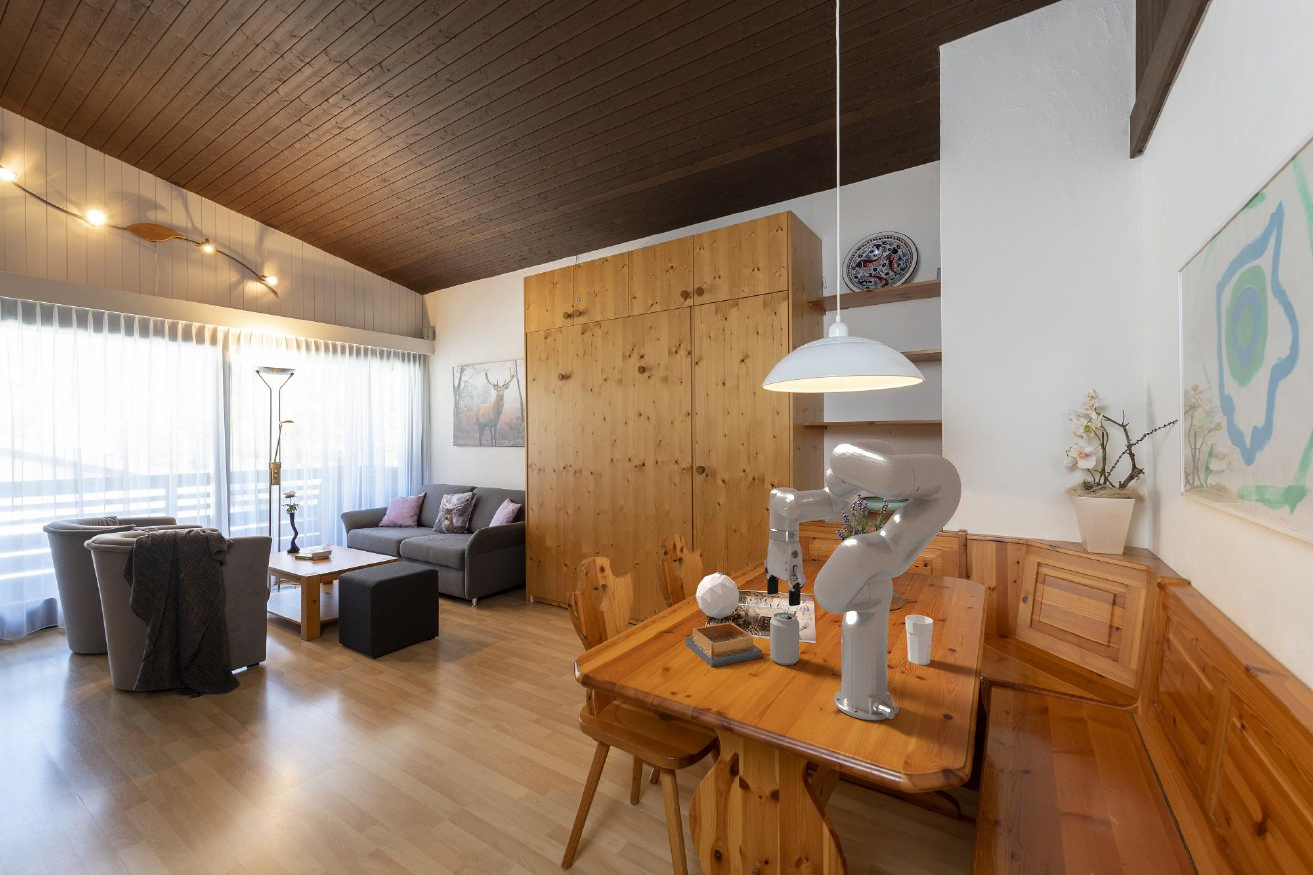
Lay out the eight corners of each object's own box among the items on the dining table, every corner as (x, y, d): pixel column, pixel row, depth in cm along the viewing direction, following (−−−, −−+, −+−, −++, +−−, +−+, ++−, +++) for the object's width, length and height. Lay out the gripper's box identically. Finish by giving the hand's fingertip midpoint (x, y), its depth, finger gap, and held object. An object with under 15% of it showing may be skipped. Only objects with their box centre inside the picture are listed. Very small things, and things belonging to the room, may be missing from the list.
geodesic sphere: (690, 588, 193) (694, 562, 184) (731, 587, 195) (737, 560, 186) (696, 627, 182) (701, 601, 173) (740, 625, 183) (747, 599, 174)
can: (800, 667, 145) (800, 621, 144) (770, 665, 146) (770, 619, 146) (798, 655, 152) (798, 611, 152) (770, 653, 154) (770, 609, 153)
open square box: (761, 657, 151) (761, 638, 151) (711, 666, 145) (711, 647, 145) (731, 636, 166) (731, 619, 166) (685, 644, 160) (685, 626, 160)
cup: (906, 653, 153) (906, 613, 152) (933, 658, 150) (933, 617, 149) (904, 663, 147) (904, 621, 147) (932, 668, 144) (932, 625, 143)
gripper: (816, 541, 142) (815, 608, 143) (777, 527, 158) (776, 588, 159) (791, 543, 139) (790, 612, 140) (754, 529, 155) (753, 591, 156)
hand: (783, 599), depth 149 cm, fingers open, 9 cm apart
